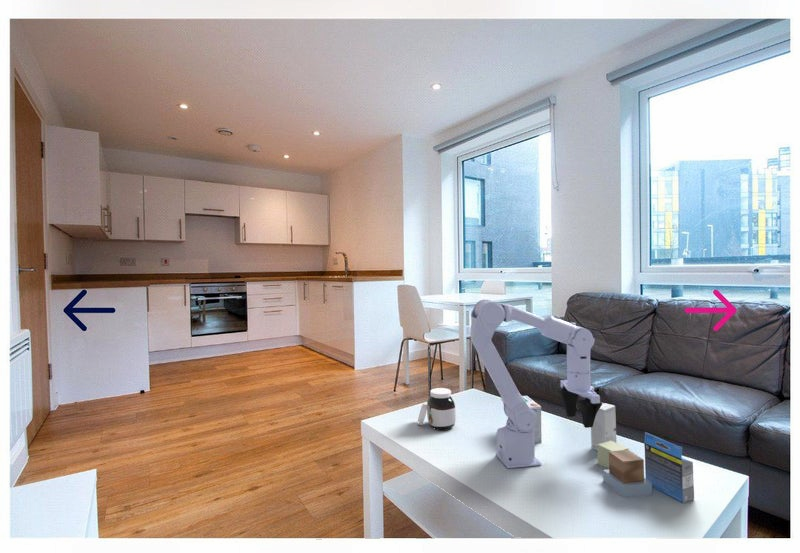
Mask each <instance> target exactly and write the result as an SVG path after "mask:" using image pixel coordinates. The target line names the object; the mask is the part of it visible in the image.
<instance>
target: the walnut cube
mask: <svg viewBox="0 0 800 553" xmlns="http://www.w3.org/2000/svg"><path fill="white" fill-rule="evenodd" d="M608 469H609V473H611V474H612V475H613V476H615V477H616V478H617V479H618V480H620V481H621V482H622V483H623V484H625V483H636V482H644V478H645V459H643V458H642V457H640V456H638V455H637V454H635V453H634V452H632V451H631V450H629V449H628V450H619V451H609V468H608Z"/></svg>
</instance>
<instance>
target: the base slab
mask: <svg viewBox="0 0 800 553" xmlns="http://www.w3.org/2000/svg"><path fill="white" fill-rule="evenodd" d="M602 475H603V477H602V478H603V479H602V480H603V482H604V483H605V484H606V485H608V486H609V487H610V488H611V489H612V490H614V492H616V493H617V494H618V495H619V496H621V497H622V498H633V497H647V496H653V487H652V483H651V482H649V481H648V480H646V477H644V482H636V483H625V484H623V483H622V482H621V481H620V480H618V479H617V478H616V477H615V476H613V475H612V474H611V473H609V468H607V469H603V470H602Z"/></svg>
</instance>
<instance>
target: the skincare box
mask: <svg viewBox="0 0 800 553" xmlns="http://www.w3.org/2000/svg"><path fill="white" fill-rule="evenodd" d="M616 417H617V416H616V405H614V404H609V403H605V402H602V406H601V407H600V408H599V410H598V412H597V414H596V417H595V420H594V424H593V427H590V441H591V442H590V444H591V446H590V447H591V449H593V450H595V451H597V452H598V446H597V444H600V443H604V442H608V441H613V442H615V443H617V418H616Z"/></svg>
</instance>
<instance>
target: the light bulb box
mask: <svg viewBox="0 0 800 553" xmlns="http://www.w3.org/2000/svg"><path fill="white" fill-rule="evenodd" d="M521 396H522V397H523V399H524V400H525V402H526V403H527V405H528V406H529V407H530V408H531V409H532V410H534V411H535V413H536V414H537V418H538V421H537V425H536V427H535V428H534V441H535V444H540V443H542V439H543V438H542V406H541V405H540V404H538V403H537V402H535V401H534V400H533V399H532V398H530V397H529V396H528V395H521Z"/></svg>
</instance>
